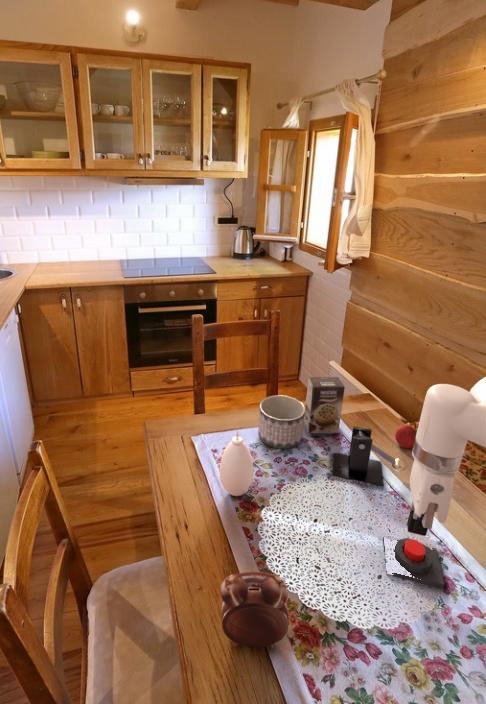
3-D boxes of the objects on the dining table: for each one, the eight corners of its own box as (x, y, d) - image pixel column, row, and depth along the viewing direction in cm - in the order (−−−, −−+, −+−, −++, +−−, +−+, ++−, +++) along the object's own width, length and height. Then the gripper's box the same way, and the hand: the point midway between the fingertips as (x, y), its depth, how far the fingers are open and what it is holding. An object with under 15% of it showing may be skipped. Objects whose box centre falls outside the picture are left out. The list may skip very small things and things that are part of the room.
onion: (420, 451, 112) (425, 427, 109) (404, 456, 110) (409, 432, 107) (404, 439, 117) (409, 415, 114) (388, 443, 115) (393, 420, 112)
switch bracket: (380, 464, 107) (386, 427, 103) (382, 489, 99) (390, 449, 95) (333, 456, 110) (337, 419, 106) (331, 478, 102) (336, 439, 98)
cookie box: (308, 435, 118) (313, 387, 113) (303, 422, 124) (307, 376, 119) (339, 435, 119) (345, 387, 113) (332, 422, 125) (338, 375, 119)
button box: (435, 552, 83) (438, 541, 82) (443, 589, 75) (446, 578, 74) (382, 540, 85) (385, 529, 84) (386, 574, 78) (388, 563, 77)
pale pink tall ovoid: (258, 489, 99) (261, 426, 92) (241, 510, 93) (243, 444, 86) (231, 476, 103) (232, 415, 96) (213, 495, 97) (213, 432, 90)
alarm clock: (283, 623, 70) (289, 560, 64) (287, 654, 65) (293, 589, 60) (220, 620, 70) (221, 557, 65) (219, 651, 66) (220, 586, 60)
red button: (422, 548, 81) (423, 541, 80) (425, 564, 77) (426, 557, 77) (402, 543, 82) (404, 537, 81) (404, 559, 78) (406, 552, 78)
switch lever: (399, 468, 103) (407, 461, 101) (400, 477, 100) (409, 469, 98) (352, 436, 103) (360, 428, 102) (352, 444, 100) (361, 436, 99)
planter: (292, 458, 109) (295, 425, 106) (250, 442, 115) (251, 411, 112) (308, 433, 119) (311, 403, 116) (269, 420, 126) (271, 391, 122)
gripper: (472, 488, 63) (445, 571, 70) (451, 432, 77) (430, 506, 83) (420, 477, 65) (399, 559, 72) (408, 424, 79) (391, 497, 85)
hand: (416, 530), depth 78 cm, fingers closed
